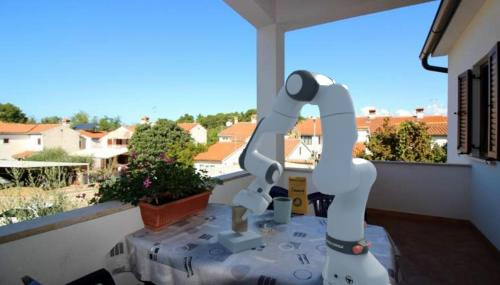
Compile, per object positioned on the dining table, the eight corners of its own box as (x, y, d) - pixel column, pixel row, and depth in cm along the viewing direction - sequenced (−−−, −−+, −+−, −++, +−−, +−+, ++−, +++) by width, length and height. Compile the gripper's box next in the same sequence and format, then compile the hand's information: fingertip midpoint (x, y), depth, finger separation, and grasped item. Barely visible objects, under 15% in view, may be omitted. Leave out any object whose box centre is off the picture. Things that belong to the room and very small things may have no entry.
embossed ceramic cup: (272, 217, 147) (273, 196, 147) (290, 218, 147) (291, 197, 147) (273, 223, 137) (273, 201, 137) (293, 224, 137) (293, 201, 137)
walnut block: (247, 231, 111) (247, 207, 111) (237, 233, 109) (237, 209, 108) (241, 227, 116) (241, 205, 115) (231, 229, 113) (231, 206, 113)
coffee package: (307, 216, 151) (307, 178, 150) (286, 213, 155) (286, 177, 155) (309, 211, 160) (309, 175, 160) (289, 209, 165) (289, 174, 164)
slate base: (262, 245, 110) (262, 236, 110) (233, 253, 103) (233, 243, 103) (244, 234, 122) (244, 226, 122) (217, 241, 114) (217, 232, 114)
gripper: (240, 183, 124) (222, 207, 119) (266, 191, 107) (246, 219, 102) (248, 191, 127) (231, 215, 122) (275, 200, 110) (255, 228, 104)
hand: (238, 217), depth 112 cm, fingers closed on walnut block, 5 cm apart
